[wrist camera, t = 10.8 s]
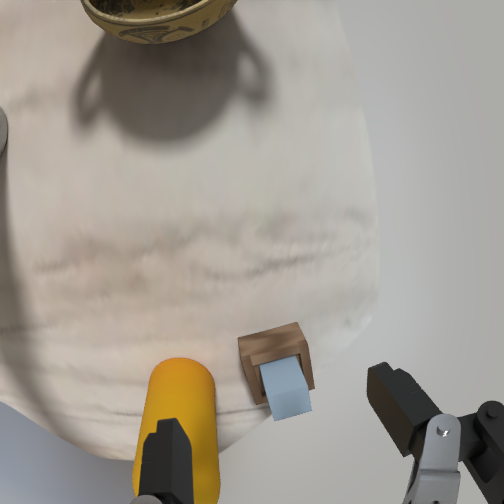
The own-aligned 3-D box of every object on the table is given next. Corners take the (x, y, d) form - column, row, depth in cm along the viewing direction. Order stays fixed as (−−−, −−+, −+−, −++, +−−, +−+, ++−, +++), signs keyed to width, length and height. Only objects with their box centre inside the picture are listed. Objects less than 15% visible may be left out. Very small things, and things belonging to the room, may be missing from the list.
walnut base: (251, 380, 41) (256, 404, 37) (237, 337, 39) (241, 361, 34) (304, 366, 42) (314, 388, 37) (297, 321, 39) (307, 343, 34)
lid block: (266, 388, 37) (274, 421, 31) (259, 363, 36) (267, 397, 30) (299, 379, 37) (311, 410, 32) (294, 354, 36) (307, 385, 30)
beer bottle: (166, 406, 41) (155, 581, 14) (140, 363, 38) (99, 560, 11) (223, 394, 42) (244, 580, 14) (201, 348, 39) (206, 568, 11)
